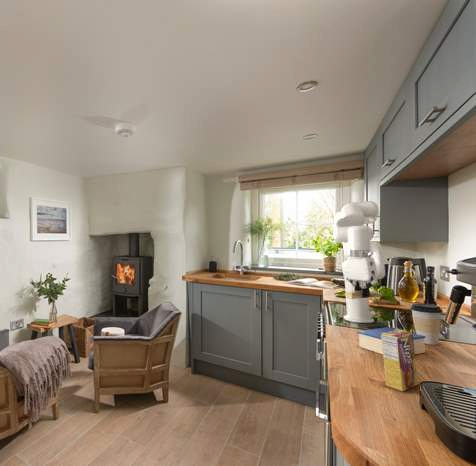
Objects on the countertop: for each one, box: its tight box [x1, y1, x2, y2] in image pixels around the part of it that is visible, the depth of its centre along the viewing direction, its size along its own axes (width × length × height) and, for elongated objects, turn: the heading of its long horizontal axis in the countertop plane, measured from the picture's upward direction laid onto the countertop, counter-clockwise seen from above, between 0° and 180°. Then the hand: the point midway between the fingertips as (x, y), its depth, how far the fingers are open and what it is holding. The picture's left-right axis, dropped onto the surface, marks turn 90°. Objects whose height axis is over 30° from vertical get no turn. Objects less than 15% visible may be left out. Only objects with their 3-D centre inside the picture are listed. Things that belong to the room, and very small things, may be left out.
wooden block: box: [347, 290, 383, 299], centre depth 125 cm, size 15×4×3 cm, turn 104°
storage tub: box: [357, 326, 426, 355], centre depth 112 cm, size 17×13×6 cm
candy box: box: [381, 328, 419, 392], centre depth 85 cm, size 9×4×15 cm, turn 114°
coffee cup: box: [409, 303, 444, 346], centre depth 119 cm, size 9×9×15 cm
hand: (362, 296), depth 125 cm, fingers closed on wooden block, 2 cm apart
